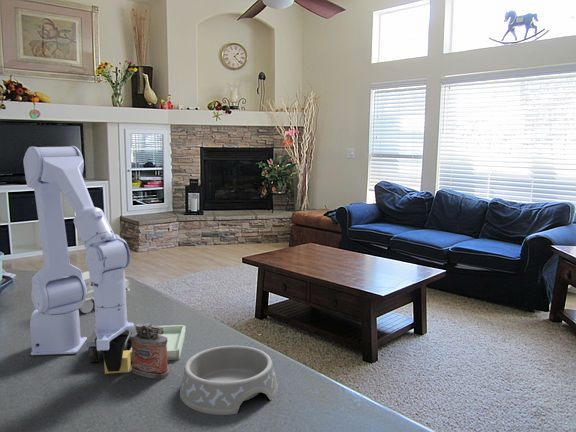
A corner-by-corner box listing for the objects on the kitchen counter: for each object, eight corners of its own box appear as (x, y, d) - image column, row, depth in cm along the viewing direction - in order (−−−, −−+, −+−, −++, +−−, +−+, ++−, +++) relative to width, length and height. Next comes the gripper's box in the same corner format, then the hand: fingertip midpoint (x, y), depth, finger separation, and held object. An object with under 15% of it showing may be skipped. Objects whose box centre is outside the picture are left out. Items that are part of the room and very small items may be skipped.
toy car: (135, 298, 144) (134, 264, 143) (75, 319, 127) (72, 281, 126) (111, 292, 149) (109, 259, 148) (50, 312, 132) (47, 276, 131)
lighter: (128, 372, 99) (125, 324, 97) (139, 365, 102) (137, 318, 100) (162, 380, 96) (160, 330, 94) (172, 372, 99) (170, 324, 97)
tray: (129, 361, 104) (128, 352, 103) (141, 334, 118) (141, 326, 117) (179, 359, 105) (179, 350, 104) (185, 332, 119) (185, 324, 118)
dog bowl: (164, 385, 95) (163, 358, 94) (246, 359, 106) (245, 335, 105) (207, 427, 81) (206, 396, 80) (296, 392, 92) (296, 365, 91)
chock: (104, 373, 98) (104, 359, 98) (108, 365, 102) (107, 351, 101) (128, 372, 99) (127, 357, 99) (130, 364, 103) (130, 350, 102)
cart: (87, 365, 102) (85, 333, 101) (101, 343, 113) (99, 314, 112) (125, 363, 103) (123, 332, 102) (135, 341, 114) (134, 313, 113)
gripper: (123, 315, 89) (127, 387, 91) (139, 290, 103) (142, 353, 105) (82, 317, 88) (87, 389, 90) (103, 291, 102) (107, 354, 104)
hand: (114, 370), depth 97 cm, fingers closed
